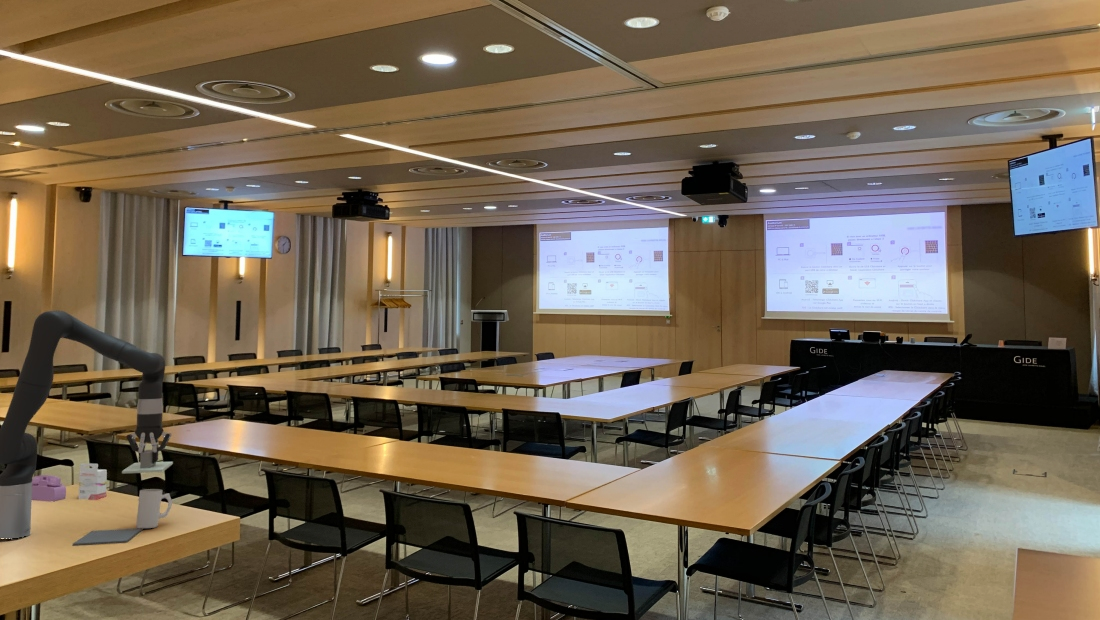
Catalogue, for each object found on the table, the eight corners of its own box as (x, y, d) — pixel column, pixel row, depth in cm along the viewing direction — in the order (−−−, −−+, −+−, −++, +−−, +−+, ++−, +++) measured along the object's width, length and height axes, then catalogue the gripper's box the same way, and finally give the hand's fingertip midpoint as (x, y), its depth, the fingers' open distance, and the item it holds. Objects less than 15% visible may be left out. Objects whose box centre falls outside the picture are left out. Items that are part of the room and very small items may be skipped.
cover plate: (121, 473, 229) (122, 455, 229) (134, 465, 241) (134, 448, 241) (162, 471, 232) (162, 454, 232) (172, 463, 244) (173, 447, 244)
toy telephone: (67, 500, 277) (68, 474, 277) (52, 503, 271) (52, 477, 271) (33, 497, 282) (34, 472, 282) (17, 500, 275) (18, 475, 276)
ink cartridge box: (106, 499, 278) (108, 461, 279) (96, 502, 273) (98, 463, 274) (88, 498, 279) (89, 461, 280) (77, 501, 274) (78, 463, 275)
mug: (135, 528, 231) (139, 491, 233) (135, 525, 237) (139, 489, 239) (169, 527, 236) (173, 491, 238) (168, 524, 242) (172, 488, 244)
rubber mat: (72, 545, 215) (72, 543, 215) (91, 532, 230) (92, 530, 230) (126, 542, 219) (126, 540, 219) (142, 529, 233) (142, 528, 233)
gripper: (122, 413, 232) (121, 466, 231) (169, 412, 235) (167, 464, 235) (130, 411, 239) (129, 462, 239) (175, 410, 243) (174, 460, 242)
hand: (148, 463), depth 237 cm, fingers closed on cover plate, 3 cm apart
